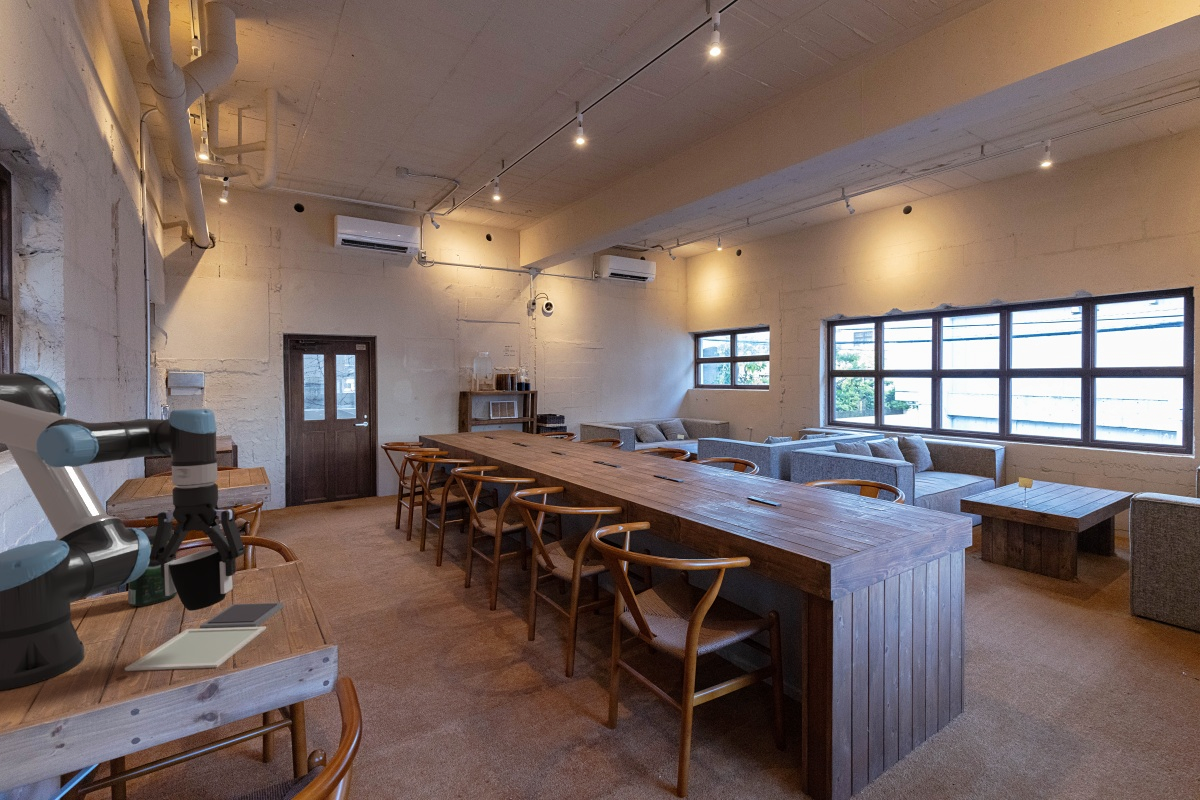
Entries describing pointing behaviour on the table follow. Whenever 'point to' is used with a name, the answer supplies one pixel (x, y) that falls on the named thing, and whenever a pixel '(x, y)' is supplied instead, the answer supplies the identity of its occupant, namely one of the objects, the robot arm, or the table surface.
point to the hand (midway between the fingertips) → (199, 592)
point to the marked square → (197, 649)
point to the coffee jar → (149, 579)
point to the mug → (198, 579)
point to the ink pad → (243, 615)
